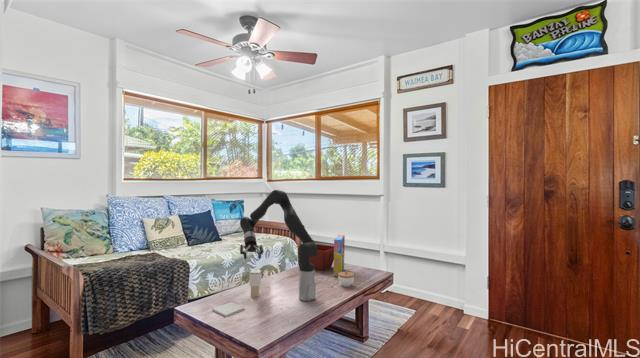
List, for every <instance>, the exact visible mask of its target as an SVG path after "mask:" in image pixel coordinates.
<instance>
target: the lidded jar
mask: <svg viewBox="0 0 640 358" xmlns="http://www.w3.org/2000/svg"><path fill="white" fill-rule="evenodd" d="M337 277H338V282H339V284H340V285H341V286H342V287H345V288H348V287H351V286H352V285H353V283H354V279H355V274H354V272H352V271H347V270H346V271H343V272H340V273H338V276H337Z"/></svg>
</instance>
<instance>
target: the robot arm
mask: <svg viewBox="0 0 640 358" xmlns="http://www.w3.org/2000/svg"><path fill="white" fill-rule="evenodd" d="M275 204H276V205H279V206H280V207H281V210H282V211H283V220H284V223H285V225H286V227H287V229H288V231H289V232H290V233H291V234H293V235H294V236H295V237H297V238H298V239H299V240H300V241H301V242H302V243H301V244H299V245H298V249H297V261H298V262H297V264H298V267H299V269H298V272H299V275H298V300H300V301H303V302H311V301H313V300H315V299H316V297H317V296H316V293H317V292H316V290H317V289H316V286H317V284H316V282H315V274H316V273H315V271H316V269H315V266H314V264H312V263H310V262H309V258H312V257H315V256H317V254H318V248H317V246H316V242H315V241H314V239H313V238H312V237H311V236H310V234H309V232H308V231H307V230H306V228H305V226H304V225H303V224H304V223H302V220H301V219H300V217H299V215H298V214H297V212H296V210H295V208H294V207H293V204H292V203H291V200H290V198H289V196H288V194H287V192H285V191H283V190H280V189H273V190H271V191H270V193H269V194H268V195H267V196H266V198H264V200H263V201H262V202H261V203H260V205H259V206H258V207H256V208H255V209H254V210H253V211H252V212H251V213H250V216H249V217H248V216H242V217H241V219H240V220H239V225H240V228H241V230H242V232H243V241H244V245H243V244H240V245H239V246H240V247H239V254H240V255H243V259H244V260H247V257H248V255H247V254H248V253H255V254H257V257H258V258H257V259H258V260H261V259H262V255H264V248H263V245H262V244H260V245H258V244H257V238H256V233H255V227H256V225H257V224H258V222H259V220H261V219H263V217H264V216H266V214H267V211H268V209H269V208H270V207H272V206H273V205H275ZM244 249H245V250H244Z"/></svg>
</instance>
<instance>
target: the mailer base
mask: <svg viewBox="0 0 640 358" xmlns="http://www.w3.org/2000/svg"><path fill="white" fill-rule="evenodd" d="M259 295H260V286H250V297H251V298H252V297H259Z"/></svg>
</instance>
